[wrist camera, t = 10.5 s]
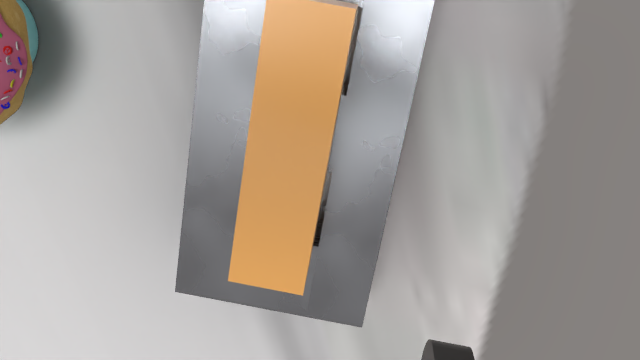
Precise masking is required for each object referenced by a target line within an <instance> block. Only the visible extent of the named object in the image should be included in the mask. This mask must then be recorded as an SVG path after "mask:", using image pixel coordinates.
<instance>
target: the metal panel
mask: <svg viewBox="0 0 640 360" xmlns="http://www.w3.org/2000/svg"><path fill="white" fill-rule="evenodd" d="M338 1H344V2H349V3H354V4H358V7H357V13H356V18H355V23H354V29H353V34H352V39H351V45H350V50H349V56H348V61H347V66H346V72H345V77H344V82H343V88H342V93H341V98H340V104H339V109H338V115H337V120H336V125H335V131H334V136H333V141H332V147H331V152H330V157H329V163H328V168H327V174H326V179H325V184H324V190H323V195H322V200H321V206H320V211H319V216H318V222H317V227H316V233H315V238H314V243H313V249H312V254H311V259H310V264H309V269H308V274H307V278H306V283H305V288H304V293H303V296H302V295H297V294H292V293H287V292H282V291H277V290H272V289H266V288H261V287H256V286H251V285H246V284H241V283H236V282H230V281H228V276H229V269H230V262H231V255H232V247H233V240H234V233H235V225H236V218H237V211H238V203H239V196H240V189H241V181H242V174H243V167H244V160H245V152H246V145H247V138H248V130H249V123H250V116H251V108H252V101H253V94H254V86H255V79H256V72H257V65H258V57H259V50H260V43H261V35H262V28H263V21H264V13H265V6H266V0H204V8H203V18H202V28H201V38H200V48H199V58H198V68H197V78H196V88H195V98H194V108H193V118H192V128H191V138H190V148H189V158H188V168H187V178H186V188H185V198H184V208H183V218H182V228H181V238H180V248H179V258H178V268H177V278H176V288H175V292H179V293H185V294H190V295H195V296H200V297H206V298H211V299H216V300H221V301H226V302H232V303H237V304H242V305H247V306H253V307H258V308H263V309H268V310H273V311H279V312H284V313H289V314H294V315H300V316H305V317H310V318H315V319H320V320H326V321H331V322H336V323H341V324H347V325H352V326H357V327H362V324H363V320H364V315H365V311H366V306H367V302H368V297H369V293H370V288H371V284H372V279H373V275H374V270H375V266H376V261H377V257H378V253H379V248H380V244H381V239H382V235H383V230H384V226H385V221H386V217H387V212H388V208H389V203H390V199H391V194H392V190H393V185H394V181H395V176H396V172H397V167H398V163H399V158H400V154H401V149H402V145H403V141H404V136H405V132H406V127H407V123H408V118H409V114H410V109H411V105H412V100H413V96H414V91H415V87H416V82H417V78H418V73H419V69H420V64H421V60H422V55H423V51H424V46H425V42H426V37H427V33H428V29H429V24H430V20H431V15H432V11H433V6H434V2H435V0H338Z"/></svg>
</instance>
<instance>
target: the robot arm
mask: <svg viewBox="0 0 640 360" xmlns="http://www.w3.org/2000/svg"><path fill="white" fill-rule="evenodd" d="M421 360H474V356H473V352H472V349H471V348H470V347H466V346H461V345H456V344H451V343H445V342H440V341H435V340H428V341H427V343H426V345H425V348H424V351H423V355H422V359H421Z"/></svg>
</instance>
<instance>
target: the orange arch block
mask: <svg viewBox="0 0 640 360" xmlns="http://www.w3.org/2000/svg"><path fill="white" fill-rule="evenodd" d="M357 7H358V4H354V3H349V2H344V1H338V0H266V6H265V13H264V21H263V28H262V35H261V43H260V50H259V57H258V65H257V72H256V79H255V86H254V94H253V101H252V108H251V116H250V123H249V130H248V138H247V145H246V152H245V160H244V167H243V174H242V181H241V189H240V196H239V203H238V211H237V218H236V225H235V233H234V240H233V247H232V255H231V262H230V269H229V276H228V281H230V282H236V283H241V284H246V285H251V286H256V287H261V288H266V289H272V290H277V291H282V292H287V293H292V294H297V295H302V296H303V293H304V288H305V283H306V278H307V274H308V269H309V264H310V259H311V254H312V249H313V243H314V238H315V233H316V227H317V222H318V216H319V211H320V206H321V200H322V195H323V190H324V184H325V179H326V174H327V168H328V163H329V157H330V152H331V147H332V141H333V136H334V131H335V125H336V120H337V115H338V109H339V104H340V98H341V93H342V88H343V82H344V77H345V72H346V66H347V61H348V56H349V50H350V45H351V39H352V34H353V29H354V23H355V18H356V13H357Z"/></svg>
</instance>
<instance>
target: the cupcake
mask: <svg viewBox="0 0 640 360" xmlns="http://www.w3.org/2000/svg"><path fill="white" fill-rule="evenodd" d="M37 50H38V31H37V27H36V23H35V21H34V18H33V16H32V14H31V12H30V10H29V9H28V7H27V6H26V4H25V3H24V2H23V1H22V0H0V124H1V123H3V122H4V121H5V120H6V119H7V118H9V117H10V116H11V115H12V114H14V113H15V112H16V111H17V110H18V109H19V107H20V106H21V104H22V101H23V97H24V92H25V88H26V85H27V83H28V80H29V78H30V76H31V74H32V68H33V67H32V63H33V62H34V59H35V57H36V54H37Z"/></svg>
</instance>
